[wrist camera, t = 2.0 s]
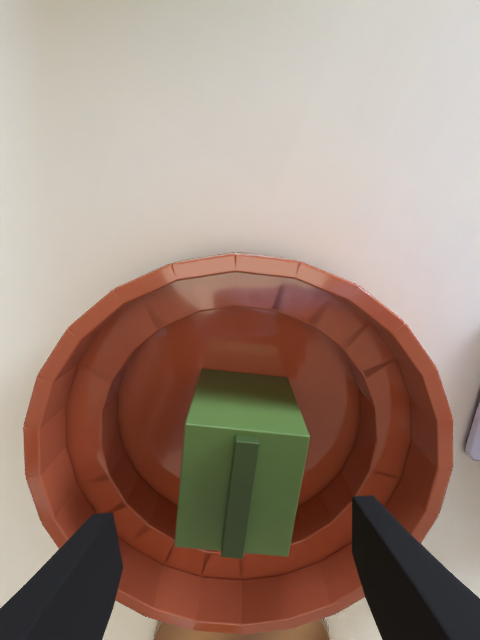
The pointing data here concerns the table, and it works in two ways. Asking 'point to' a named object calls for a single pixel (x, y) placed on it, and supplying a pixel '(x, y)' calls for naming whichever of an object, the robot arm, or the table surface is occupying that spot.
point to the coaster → (308, 636)
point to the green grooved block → (241, 465)
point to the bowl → (172, 409)
